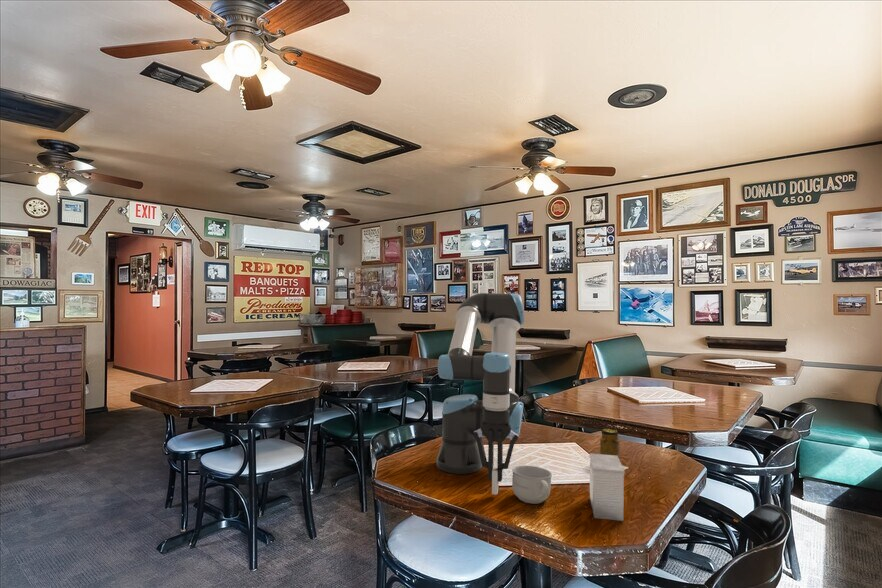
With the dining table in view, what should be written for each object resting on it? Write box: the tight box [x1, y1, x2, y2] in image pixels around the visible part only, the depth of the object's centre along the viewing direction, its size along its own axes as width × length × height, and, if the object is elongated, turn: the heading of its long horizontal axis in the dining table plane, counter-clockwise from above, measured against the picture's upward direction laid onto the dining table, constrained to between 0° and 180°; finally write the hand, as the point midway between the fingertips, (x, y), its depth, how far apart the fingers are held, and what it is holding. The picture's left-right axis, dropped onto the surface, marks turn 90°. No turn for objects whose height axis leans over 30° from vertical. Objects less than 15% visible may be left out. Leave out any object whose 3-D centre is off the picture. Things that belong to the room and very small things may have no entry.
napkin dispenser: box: [589, 452, 626, 522], centre depth 123 cm, size 8×12×13 cm, turn 167°
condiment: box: [599, 428, 630, 471], centre depth 156 cm, size 7×8×12 cm
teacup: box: [511, 465, 553, 505], centre depth 128 cm, size 14×11×8 cm
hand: (495, 492), depth 130 cm, fingers closed
